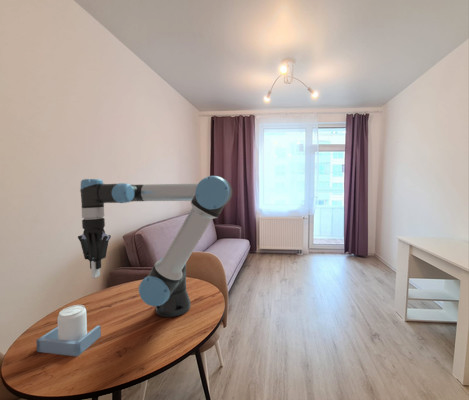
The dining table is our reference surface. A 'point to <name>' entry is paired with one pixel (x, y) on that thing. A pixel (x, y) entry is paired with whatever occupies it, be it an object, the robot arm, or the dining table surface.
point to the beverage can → (72, 323)
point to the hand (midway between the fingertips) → (96, 276)
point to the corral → (66, 343)
